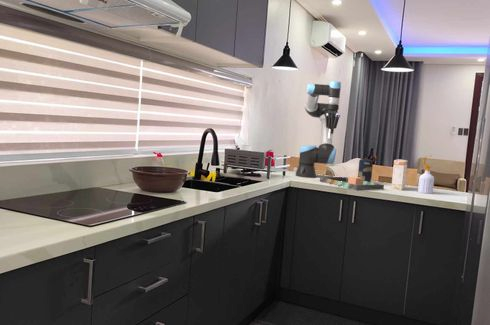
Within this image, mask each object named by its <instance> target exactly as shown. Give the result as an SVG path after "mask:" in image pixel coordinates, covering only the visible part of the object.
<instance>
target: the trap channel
mask: <svg viewBox="0 0 490 325" xmlns="http://www.w3.org/2000/svg"><path fill="white" fill-rule="evenodd" d="M341 181H342V182H341ZM319 182H320V183H324V182H325V184H328V183H331V184H330V185H332V184H334V186H337V185H339V186H338V187H341V186H343V187H342V188H345V187H346V189H350V190H355V191H368V190H370V189H383V190H384V186H385V184H381V183H376V182H372V181H371V182H367V181H363V185H355V184H350V183H348V177H345V176H344V177H341V176H339V177H337V176H336V177H335V176H333V177H332V176H329V177H328V176H324V177H323V176H321V177H319ZM370 191H371V190H370Z"/></svg>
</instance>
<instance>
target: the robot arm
mask: <svg viewBox="0 0 490 325" xmlns="http://www.w3.org/2000/svg"><path fill="white" fill-rule="evenodd" d="M341 85H342V82H341V81H337V80H336V81H335V80H334V81H333V80H331V81H330V82H329V84H319V83H308V84H307V85H306V94H307V96H308V97H307V101H306V103H305V106H304V109H305V112H306V113H307V114H308V115H309V116H310V117H312V118H317V119H319V121H320V122H321V123H320V127H321V128H320V144H319V145H318V147H317V145H314V144H313V145H308V144H307V145H302V146H300V149H299V156H298V157H299V158H298V166H297V168H296V171H295V176H297V177H300V178H301V177H302V178H316V177H317V174H316V169H315V168H316V167H315V164H326V165H333V164H334V163H335V159H336V154H337V149H336V148H335V146H334V144H333V134H334V131H335V129H336V128H337V126H338V123H339V119H340V118H341V114H339V106H340V105H339V104H340V98H341V90H342V89H341V88H342V86H341ZM320 96H327V97H328V98H327V102H328V103H324V102H323V103H322V102H318V100H319V97H320Z"/></svg>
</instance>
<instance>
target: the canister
mask: <svg viewBox="0 0 490 325" xmlns="http://www.w3.org/2000/svg"><path fill="white" fill-rule="evenodd" d="M358 161H359V163H358V172H357V177H359V178H364V181H367V182H372V176H373V165H374V164H373V163H374V161H373V159H369V158H367V157H365V158H359V160H358Z"/></svg>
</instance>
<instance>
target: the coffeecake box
mask: <svg viewBox="0 0 490 325" xmlns="http://www.w3.org/2000/svg"><path fill="white" fill-rule="evenodd" d="M408 161H409V160H407V159H399V158H398V159H394V160H393V169H392V177H391V178H392V179H391V185H390V186H391V188H390V190H394V189H396V190H397V191H403V190H404V189H405V188H406V179H407V170H408ZM396 190H395V191H396Z"/></svg>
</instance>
